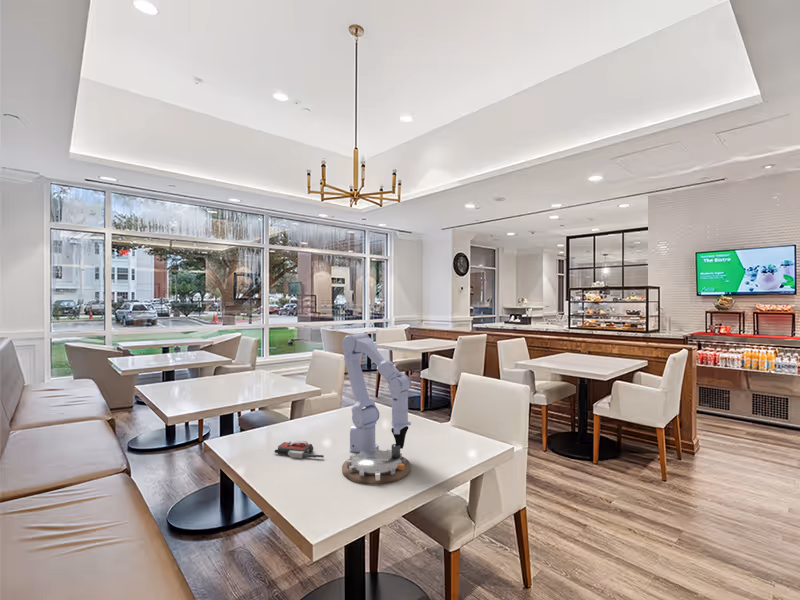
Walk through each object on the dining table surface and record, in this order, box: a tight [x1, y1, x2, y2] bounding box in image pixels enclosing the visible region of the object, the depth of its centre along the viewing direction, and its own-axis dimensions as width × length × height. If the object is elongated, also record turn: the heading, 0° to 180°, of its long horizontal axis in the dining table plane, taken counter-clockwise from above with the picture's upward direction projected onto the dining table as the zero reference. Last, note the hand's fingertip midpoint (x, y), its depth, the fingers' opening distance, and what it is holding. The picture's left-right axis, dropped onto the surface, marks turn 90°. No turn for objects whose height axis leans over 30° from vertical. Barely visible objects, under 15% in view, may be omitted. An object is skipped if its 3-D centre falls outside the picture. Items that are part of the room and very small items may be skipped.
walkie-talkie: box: [274, 440, 325, 459], centre depth 148 cm, size 9×4×20 cm
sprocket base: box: [341, 456, 412, 486], centre depth 135 cm, size 23×23×3 cm
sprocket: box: [346, 443, 407, 477], centre depth 135 cm, size 20×20×6 cm
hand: (400, 447), depth 143 cm, fingers closed
